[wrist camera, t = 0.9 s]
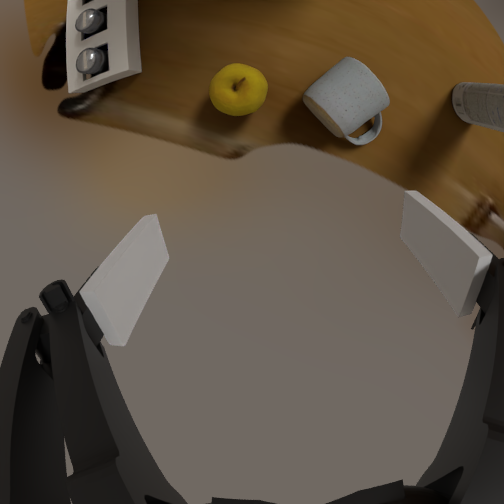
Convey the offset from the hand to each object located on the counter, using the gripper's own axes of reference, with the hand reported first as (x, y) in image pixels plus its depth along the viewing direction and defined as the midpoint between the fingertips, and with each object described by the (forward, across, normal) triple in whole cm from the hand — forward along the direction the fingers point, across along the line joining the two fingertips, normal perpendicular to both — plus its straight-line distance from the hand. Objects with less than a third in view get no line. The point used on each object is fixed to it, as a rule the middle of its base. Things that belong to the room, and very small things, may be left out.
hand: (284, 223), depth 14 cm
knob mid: (+22, -20, +24) cm, 38 cm away
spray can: (+24, +31, +8) cm, 40 cm away
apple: (+24, -3, +8) cm, 25 cm away
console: (+24, -20, +24) cm, 39 cm away
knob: (+21, -21, +17) cm, 34 cm away
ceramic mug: (+24, +10, +5) cm, 26 cm away
